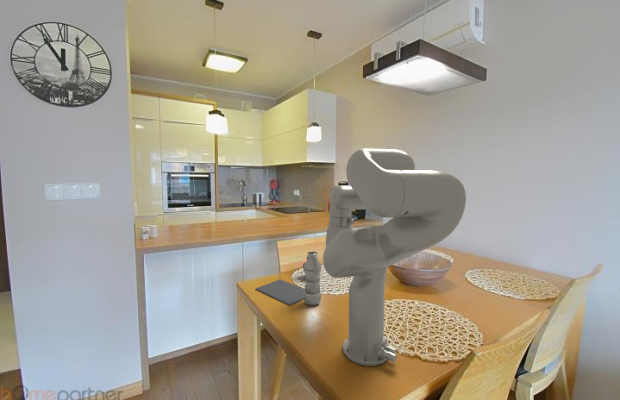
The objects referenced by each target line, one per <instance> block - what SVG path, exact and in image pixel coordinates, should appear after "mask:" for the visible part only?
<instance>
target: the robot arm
mask: <svg viewBox="0 0 620 400" xmlns="http://www.w3.org/2000/svg"><path fill="white" fill-rule="evenodd" d="M415 167H416V166H415V161H414V159H413V158H412V157H411V155H410V154H408V153H406V152H405V151H403V150H399V149H389V148H387V149H386V148H361V149H357V150H355V152H353V153H352V154H351V155H350V157H349V158H348V161H347V163H346V168H345V174H346V179H347V182H348V185H345V184H344V185H341V184H340V185H336V184H335V185H331V186H330V187H329V210H328V211H329V213H328V214H329V219H328V220H329V224H328V225H327V228H326V236H325V247H324V251H323V254H322V255H323V256H322V257H323V258H322V263H323V267H324V269H325V272H326V273H327V274H328V275H329V276H331V277H332V278H335V279H342V278H352V277H353V278H352V279H351V282H350V285H349V289H348V337H346V338H345V340H343V342H342V352H343V353H344V355H345V357H346V358H348V359H349V360H350V361H352V362H353V363H355V364H358V365H360V366H361V365H362V366H366V367H368V366H369V367H374V366H380V365H381V364H382V365H383V363H385V362H386V361H387V360H389V361H391V362H392V363H396V361H397V358H398V355H397V348H395V347H392V346H390V345H389V344H388V337H386V336H384V333H385V331H384V330H385V326H384V325H385V289H386V279H387V272H388V268H389V267H391V266H393V265H395V264H397V263H399V262H401V261H404V260H406V259H409V258H411V257H412V256H414V255H417V254H418V253H421V252H423V251H425V250H428V249H430V248H431V247H434V246H436V245H437V244H439V243H440V242H442V241H444V240H445V239H446V238H447V237H448V236H450V235H451V234H452V233H453V232H454V230H455V229H457V227H458V225H459V223H460V222H461V220H462V218H463V215H464V213H465V209H466V200H467V195H466V193H467V192H466V189H465V187H464V185H463V184H462V182H461V181H460V180H459V179H458V178H457V177H456V176H454V175H453V174H449V173H447V172H443V171H439V170H438V171H437V170H429V169H428V170H426V169H425V170H424V169H423V170H422V169H419V170H417V169H416V168H415ZM352 210H369V211H370V212H371V213H372V214H374V215H375V216H378V217H381V218H388V219H389V218H391V219H389V220H388V221H387V222H386V223H385V222H384V224H382V225H377V226H360V227H354V223H355V220H354V219H352V217H353V216H352V215H353V212H352ZM352 224H353V225H352Z"/></svg>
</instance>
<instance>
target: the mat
mask: <svg viewBox="0 0 620 400" xmlns="http://www.w3.org/2000/svg"><path fill="white" fill-rule="evenodd" d="M255 291H258V292H260V293H262V294H264V295H266V296H269V297H270V298H273V299H274V300H276V301H279V302H281V303H282V304H285V305H287V306H289V307H291V306H294V305H295V304H297V303H299V302H301V301H304V292H305V287H304V288H303V287H301V286H299V285H295V284H293V283H290V282H289V281H285V280H283V279H281V278H280V279H278V280H274V281H272V282H269V283H266V284H264V285H261V286H259V287H255Z"/></svg>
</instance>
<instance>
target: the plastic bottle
mask: <svg viewBox="0 0 620 400" xmlns="http://www.w3.org/2000/svg"><path fill="white" fill-rule="evenodd" d="M307 258H308V260H307ZM318 258H319V256H318V252H317V251H308V252H307V256H306V261H305V262H304V263H305V265H304V270H303V272H304V271H305V272H304V279H305V282H304V284H305V286H304V289H305V292H304V300H303V302H304V303H305V304H306V305H307V306H316V305H319V304H320V303H321V302H322V301H321V300H322V294H321V286H320V279H321V270H322V264H321V262H320V261H319V259H318Z"/></svg>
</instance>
